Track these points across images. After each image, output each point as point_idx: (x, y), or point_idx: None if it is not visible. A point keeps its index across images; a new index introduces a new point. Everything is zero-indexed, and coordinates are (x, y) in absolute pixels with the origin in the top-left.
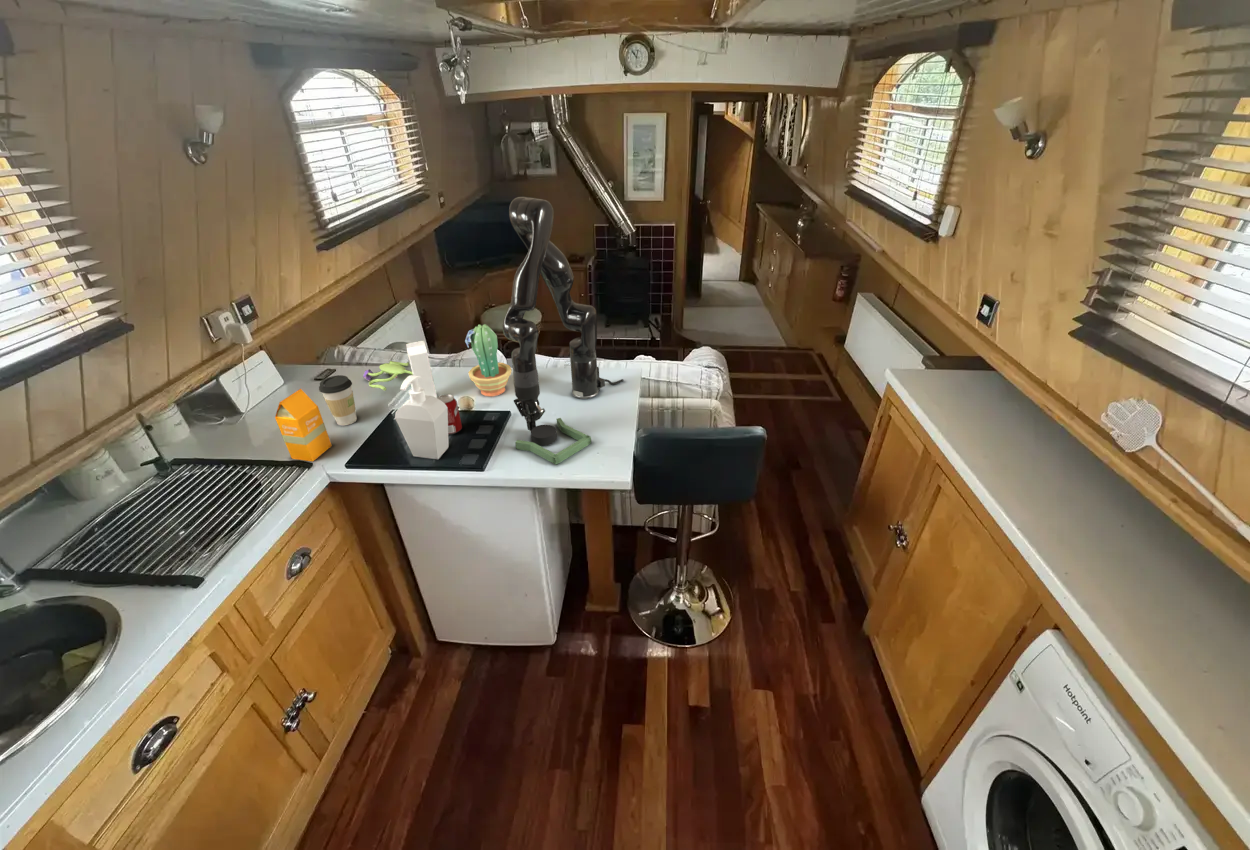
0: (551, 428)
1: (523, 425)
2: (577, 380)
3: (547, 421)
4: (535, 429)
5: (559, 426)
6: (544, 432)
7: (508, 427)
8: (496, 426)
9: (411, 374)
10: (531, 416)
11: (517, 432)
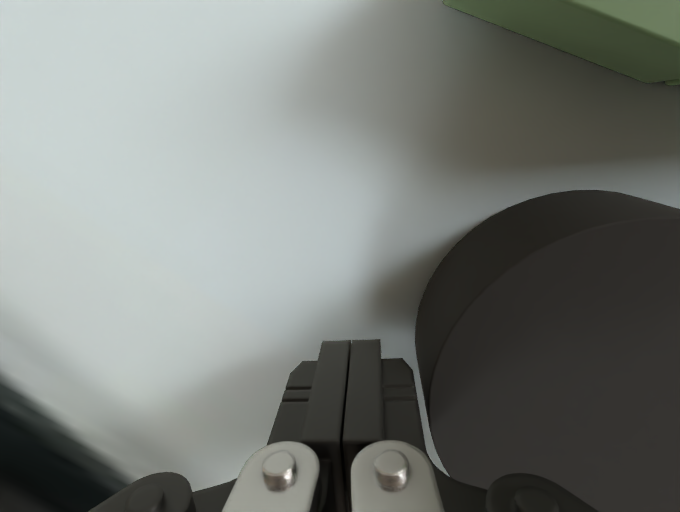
0: None
1: (155, 313)
2: None
3: (259, 44)
4: (491, 446)
5: (589, 42)
6: (669, 419)
7: (101, 425)
8: (25, 475)
9: None
10: (324, 510)
11: (238, 424)
